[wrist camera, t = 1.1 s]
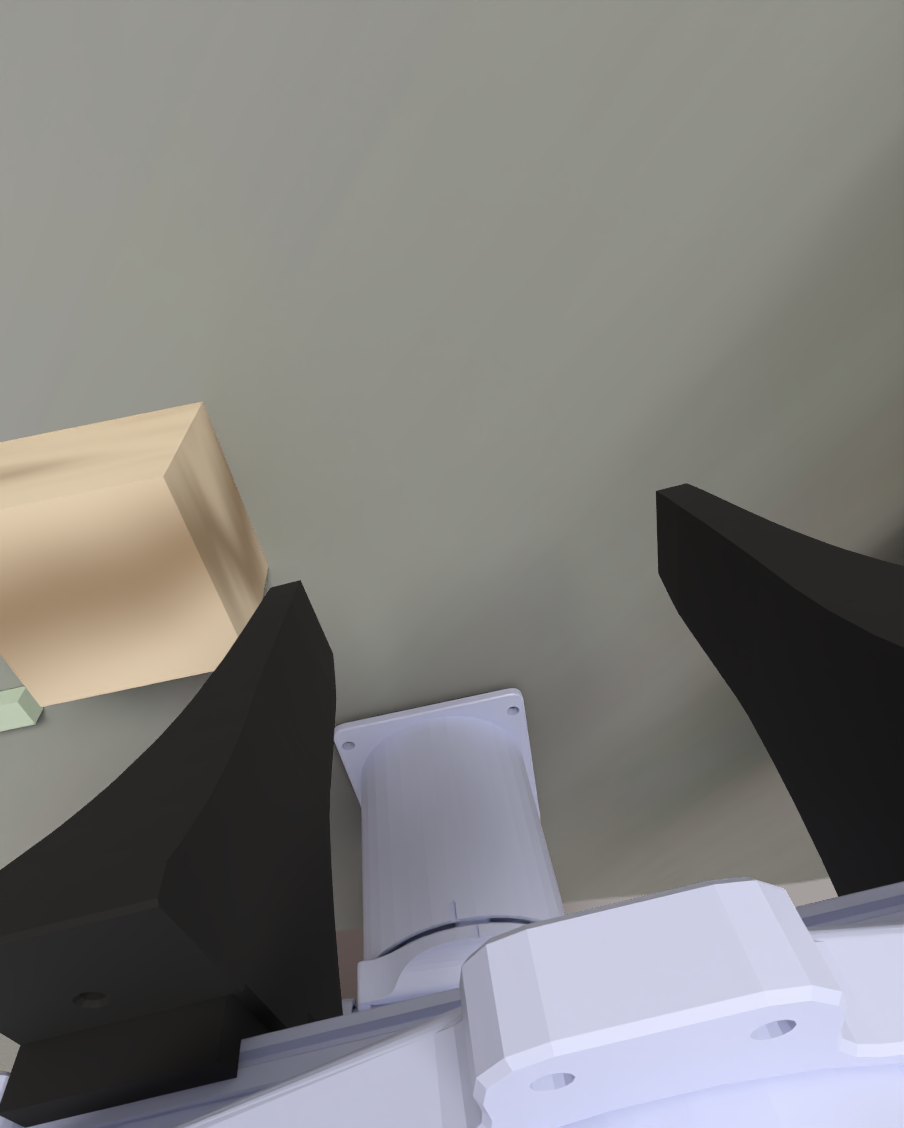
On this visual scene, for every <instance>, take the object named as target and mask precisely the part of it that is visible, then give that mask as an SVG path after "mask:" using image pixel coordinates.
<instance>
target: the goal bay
mask: <svg viewBox="0 0 904 1128" xmlns="http://www.w3.org/2000/svg"><path fill="white" fill-rule="evenodd" d="M42 710H43V707H41V706H40V705H39V704H38V703H37V701H36V700H35V699H34V697H33V696H32V695H31V693H30V692H29V691H28V690H27V688H26V687H25V686H24V687H19V688H15V689H10V690H5V691H0V731H5V730H10V729H15V728H19V727H24V726H29V725H34V724H36V722H37V720H38V718H39V716H40V714H41V712H42Z"/></svg>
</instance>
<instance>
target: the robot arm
mask: <svg viewBox="0 0 904 1128" xmlns="http://www.w3.org/2000/svg"><path fill="white" fill-rule="evenodd" d="M656 509H657V542H658V573H659V575H660V577H661V579H662V582H663V584H664V586H665V588H666V590H667V592H668V594H669V596H670V598H671V600H672V602H673V604H674V606H675V608H676V610H677V611H678V613H679V615H680V616H681V618H682V619H683V621H684V622H685V624H686V625H687V627H688V628H689V630H690V631H691V633H692V634H693V635H694V637H695V638H696V640H697V641H698V643H699V644H700V646H701V647H702V648H703V650H704V651H705V653H706V654H707V656H708V657H709V658H710V660H711V661H712V663H713V664H714V666H715V667H716V668H717V670H718V671H719V673H720V674H721V676H722V677H723V678H724V680H725V681H726V683H727V684H728V686H729V687H730V688H731V690H732V691H733V693H734V694H735V696H736V697H737V699H738V700H739V702H740V703H741V705H742V707H743V708H744V710H745V711H746V713H747V715H748V716H749V718H750V720H751V722H752V723H753V725H754V727H755V729H756V731H757V733H758V735H759V736H760V738H761V740H762V742H763V744H764V746H765V747H766V749H767V751H768V753H769V755H770V757H771V758H772V760H773V762H774V764H775V766H776V768H777V770H778V772H779V774H780V776H781V778H782V780H783V782H784V784H785V786H786V788H787V790H788V791H789V793H790V795H791V797H792V799H793V801H794V803H795V805H796V807H797V809H798V811H799V813H800V816H801V818H802V820H803V822H804V824H805V826H806V828H807V830H808V832H809V834H810V836H811V838H812V840H813V842H814V844H815V847H816V849H817V851H818V853H819V855H820V857H821V859H822V861H823V864H824V866H825V868H826V870H827V872H828V875H829V877H830V879H831V881H832V883H833V885H834V888H835V890H836V892H837V894H838V897H836V898H832V899H827V900H823V901H819V902H815V903H811V904H806V905H802V906H798V907H794V905H793V903H792V901H791V899H790V898H789V896H788V894H787V892H786V890H785V889H784V888H782V887H779V886H776V885H773V884H770V883H767V882H763V881H760V880H757V879H753V878H750V877H738V878H728V879H719V880H709V881H705V882H701V883H697V884H693V885H688V886H684V887H680V888H676V889H672V890H668V891H663V892H659V893H655V894H651V895H647V896H643V897H638V898H634V899H630V900H626V901H622V902H618V903H614V904H609V905H605V906H601V907H597V908H593V909H589V910H584V911H580V912H576V913H572V914H568V915H565V912H564V908H563V904H562V900H561V896H560V893H559V889H558V885H557V882H556V878H555V874H554V871H553V867H552V863H551V859H550V856H549V852H548V848H547V845H546V841H545V837H544V833H543V830H542V826H541V822H540V812H539V805H538V798H537V791H536V784H535V777H534V770H533V763H532V756H531V749H530V742H529V735H528V728H527V722H526V715H525V708H524V701H523V697H522V694H521V691H519V690H518V689H515V688H508V689H503V690H499V691H494V692H489V693H485V694H480V695H475V696H470V697H466V698H461V699H456V700H452V701H447V702H442V703H437V704H433V705H428V706H423V707H419V708H414V709H409V710H404V711H400V712H395V713H390V714H386V715H381V716H376V717H371V718H367V719H362V720H357V721H352V722H348V723H343V724H340V725H338V726H337V727H335V712H336V685H335V671H334V659H333V653H332V650H331V648H330V646H329V644H328V641H327V639H326V637H325V635H324V632H323V630H322V628H321V626H320V623H319V621H318V619H317V617H316V614H315V612H314V610H313V608H312V605H311V603H310V601H309V598H308V596H307V594H306V592H305V589H304V587H303V585H302V583H301V580H300V581H296V582H292V583H288V584H284V585H280V586H276V587H272V588H270V590H269V591H268V592H267V594H266V595H265V597H264V598H263V600H262V601H261V603H260V604H259V606H258V607H257V609H256V611H255V612H254V614H253V615H252V617H251V618H250V620H249V621H248V623H247V625H246V626H245V628H244V629H243V631H242V632H241V634H240V635H239V637H238V638H237V639H236V641H235V642H234V644H233V645H232V647H231V648H230V650H229V651H228V653H227V654H226V656H225V657H224V659H223V660H222V661H221V663H220V664H219V665H218V667H217V668H216V669H215V671H214V672H213V673H212V675H211V676H210V677H209V679H208V680H207V681H206V683H205V684H204V685H203V687H202V688H201V689H200V691H199V692H198V693H197V694H196V696H195V697H194V698H193V699H192V701H191V702H190V703H189V704H188V706H187V707H186V708H185V709H184V710H183V711H182V713H181V714H180V715H179V716H178V717H177V718H176V719H175V720H174V722H173V723H172V724H171V725H170V726H169V727H168V728H167V729H166V730H165V731H164V733H163V734H162V735H161V736H160V737H159V738H158V739H157V740H156V741H155V742H154V743H153V744H152V745H151V746H150V747H149V748H148V749H147V750H146V751H145V752H144V753H143V754H142V755H141V756H140V757H139V758H138V759H137V760H136V761H134V762H133V763H132V764H131V765H130V766H129V767H128V768H127V769H126V770H125V771H124V772H123V773H122V774H121V775H120V776H119V777H118V778H117V779H116V780H115V781H114V782H112V783H111V784H110V785H109V786H108V787H107V788H106V789H104V790H103V791H102V792H101V793H100V794H99V795H97V796H96V797H95V798H94V799H93V800H92V801H91V802H89V803H88V804H87V805H86V806H84V807H83V808H82V809H81V810H80V811H78V812H77V813H76V814H75V815H73V816H72V817H71V818H70V819H68V820H67V821H66V822H65V823H64V824H62V825H61V826H60V827H58V828H57V829H56V830H54V831H53V832H52V833H51V834H49V835H48V836H47V837H45V838H44V839H42V840H41V841H40V842H38V843H37V844H36V845H34V846H33V847H31V848H30V849H29V850H27V851H26V852H25V853H23V854H22V855H20V856H19V857H18V858H16V859H15V860H14V861H12V862H11V863H9V864H8V865H7V866H5V867H4V868H2V869H1V870H0V1033H2V1034H3V1035H5V1036H6V1037H8V1038H10V1039H11V1040H13V1041H15V1042H16V1043H18V1044H20V1048H19V1051H18V1054H17V1057H16V1060H15V1062H14V1065H13V1068H12V1071H11V1073H9V1072H6V1071H0V1128H904V566H901V565H897V564H893V563H889V562H886V561H882V560H879V559H875V558H872V557H869V556H865V555H862V554H858V553H855V552H852V551H848V550H845V549H842V548H839V547H836V546H833V545H830V544H827V543H825V542H822V541H819V540H817V539H814V538H811V537H809V536H806V535H803V534H801V533H798V532H796V531H793V530H791V529H788V528H786V527H783V526H781V525H779V524H776V523H774V522H772V521H769V520H767V519H765V518H762V517H760V516H758V515H756V514H753V513H751V512H749V511H747V510H745V509H742V508H740V507H738V506H736V505H734V504H732V503H730V502H727V501H725V500H723V499H721V498H719V497H717V496H714V495H712V494H710V493H708V492H706V491H704V490H701V489H699V488H697V487H694V486H692V485H689V484H687V483H686V484H682V485H678V486H674V487H670V488H666V489H662V490H658V491H656ZM510 707H514V708H510ZM334 728H335V729H334ZM334 742H335V745H336V747H337V749H338V752H339V754H340V757H341V759H342V762H343V764H344V767H345V769H346V771H347V774H348V776H349V779H350V781H351V784H352V786H353V789H354V791H355V793H356V796H357V798H358V801H359V803H360V806H361V809H362V873H363V934H364V935H363V937H364V961H360V962H359V963H358V965H357V975H358V1009H357V1004H356V1000H355V998H351V999H341V989H340V979H339V968H338V956H337V944H336V931H335V918H334V903H333V886H332V869H331V847H330V822H329V811H330V786H331V772H332V757H333V743H334ZM346 742H350V743H346Z"/></svg>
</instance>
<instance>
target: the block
mask: <svg viewBox="0 0 904 1128" xmlns="http://www.w3.org/2000/svg"><path fill="white" fill-rule="evenodd" d="M267 571H268V565H267V562H266V560H265V557H264V555H263V552H262V550H261V547H260V545H259V542H258V540H257V537H256V535H255V532H254V530H253V527H252V525H251V522H250V520H249V517H248V515H247V512H246V509H245V507H244V504H243V502H242V499H241V497H240V494H239V492H238V489H237V487H236V484H235V482H234V479H233V477H232V474H231V472H230V469H229V467H228V464H227V462H226V459H225V457H224V454H223V452H222V449H221V447H220V444H219V442H218V439H217V437H216V434H215V432H214V429H213V427H212V424H211V422H210V419H209V417H208V414H207V412H206V409H205V407H204V404H203V402H199V403H194V404H189V405H184V406H179V407H174V408H169V409H164V410H159V411H154V412H149V413H144V414H139V415H134V416H129V417H124V418H119V419H114V420H109V421H104V422H99V423H94V424H89V425H84V426H80V427H75V428H70V429H65V430H60V431H55V432H50V433H45V434H40V435H35V436H30V437H25V438H20V439H15V440H10V441H5V442H0V654H1V656H2V657H3V658H4V660H5V661H6V662H7V663H8V665H9V666H10V667H11V669H12V670H13V671H14V673H15V674H16V675H17V676H18V678H19V679H20V680H21V682H22V683H23V684H24V686H25V687H26V688H27V690H28V691H29V692H30V693H31V695H32V696H33V697H34V699H35V700H36V701H37V703H38V704H39V705H40V706H41V707H44V706H49V705H53V704H58V703H63V702H68V701H73V700H77V699H82V698H87V697H92V696H97V695H101V694H106V693H111V692H116V691H121V690H125V689H130V688H135V687H140V686H145V685H149V684H154V683H159V682H164V681H169V680H173V679H178V678H183V677H188V676H193V675H198V674H202V673H207V672H212V671H215V669H216V668H217V667H218V665H219V664H220V663H221V661H222V660H223V659H224V657H225V656H226V654H227V653H228V651H229V650H230V648H231V647H232V645H233V644H234V642H235V641H236V639H237V638H238V637H239V635H240V634H241V632H242V631H243V629H244V628H245V626H246V625H247V623H248V621H249V620H250V618H251V617H252V615H253V614H254V612H255V611H256V609H257V607H258V606H259V604H260V603H261V601H262V598H263V593H264V587H265V582H266V576H267Z"/></svg>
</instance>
